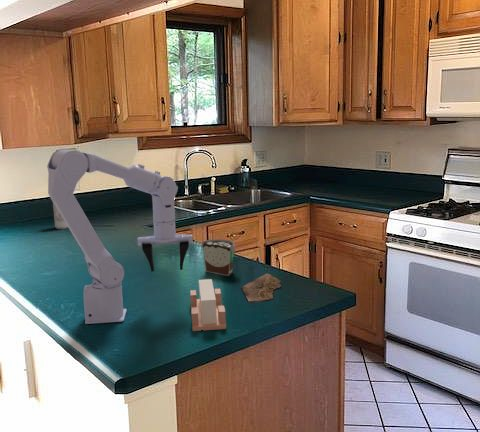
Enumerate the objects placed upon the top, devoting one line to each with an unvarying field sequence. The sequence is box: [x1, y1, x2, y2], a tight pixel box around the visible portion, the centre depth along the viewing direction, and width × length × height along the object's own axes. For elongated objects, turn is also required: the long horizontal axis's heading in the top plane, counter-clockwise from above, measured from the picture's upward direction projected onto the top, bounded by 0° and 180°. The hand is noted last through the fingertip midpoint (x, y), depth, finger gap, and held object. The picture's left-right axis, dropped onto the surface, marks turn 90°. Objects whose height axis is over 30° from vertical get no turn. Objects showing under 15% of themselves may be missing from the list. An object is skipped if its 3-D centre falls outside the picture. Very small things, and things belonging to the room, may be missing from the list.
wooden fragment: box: [240, 273, 282, 303], centre depth 156 cm, size 26×11×1 cm, turn 164°
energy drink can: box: [52, 202, 69, 230], centre depth 244 cm, size 6×6×15 cm
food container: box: [200, 238, 236, 277], centre depth 172 cm, size 12×6×10 cm, turn 56°
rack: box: [189, 288, 227, 332], centre depth 135 cm, size 8×19×4 cm, turn 6°
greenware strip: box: [198, 278, 217, 324], centre depth 135 cm, size 4×16×6 cm, turn 7°
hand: (167, 269), depth 144 cm, fingers open, 7 cm apart
